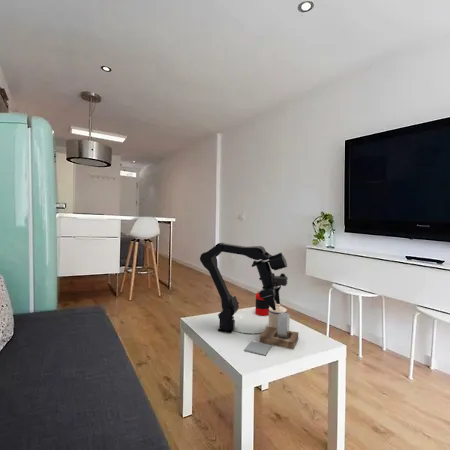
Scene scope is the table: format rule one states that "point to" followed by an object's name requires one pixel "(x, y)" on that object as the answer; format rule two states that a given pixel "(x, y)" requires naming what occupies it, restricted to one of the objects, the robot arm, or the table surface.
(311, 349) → the table surface
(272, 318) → the teacup with lid
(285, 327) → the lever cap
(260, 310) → the soda can
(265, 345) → the rubber mat
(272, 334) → the brown wooden rectangular frame
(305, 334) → the table surface
